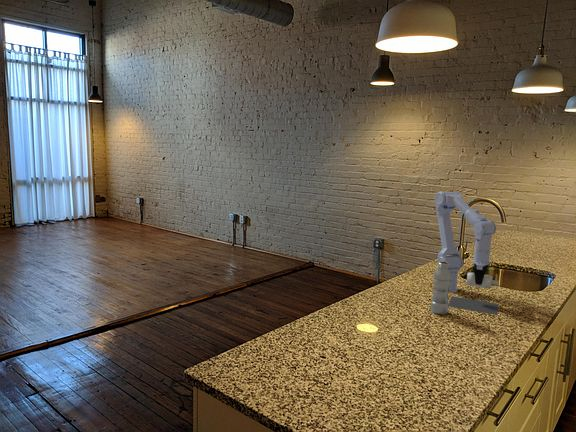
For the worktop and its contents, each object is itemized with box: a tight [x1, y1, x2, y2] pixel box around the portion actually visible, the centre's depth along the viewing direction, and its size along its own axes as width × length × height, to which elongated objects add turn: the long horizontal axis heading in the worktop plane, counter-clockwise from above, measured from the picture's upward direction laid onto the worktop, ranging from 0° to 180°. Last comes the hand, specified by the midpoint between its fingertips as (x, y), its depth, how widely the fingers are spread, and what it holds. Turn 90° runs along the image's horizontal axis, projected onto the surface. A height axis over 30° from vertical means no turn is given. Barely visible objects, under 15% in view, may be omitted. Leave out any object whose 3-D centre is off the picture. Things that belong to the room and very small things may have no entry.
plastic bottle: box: [429, 262, 452, 315], centre depth 168 cm, size 6×7×20 cm
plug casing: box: [466, 271, 500, 289], centre depth 180 cm, size 12×4×4 cm, turn 63°
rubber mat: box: [448, 295, 499, 316], centre depth 179 cm, size 18×14×1 cm
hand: (478, 282), depth 181 cm, fingers closed on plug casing, 4 cm apart
